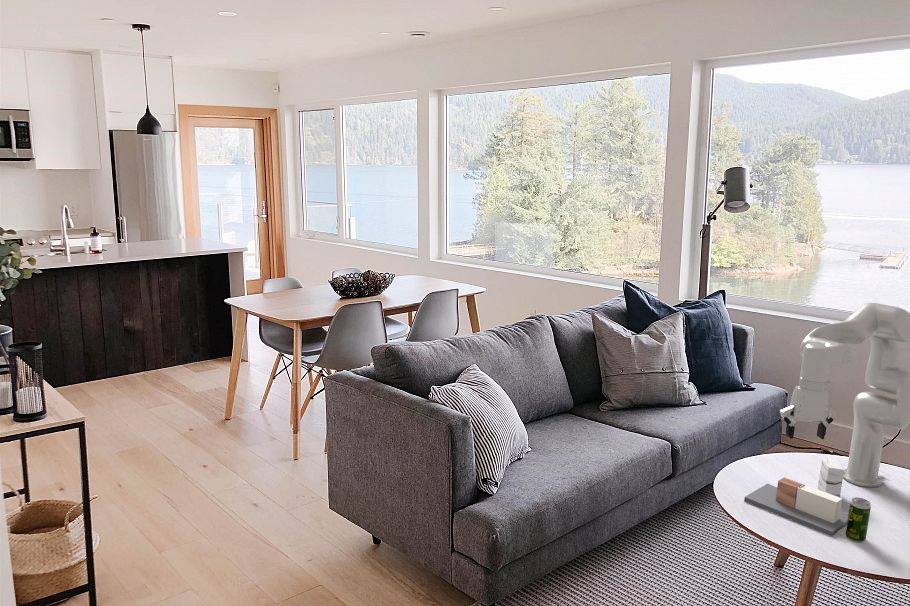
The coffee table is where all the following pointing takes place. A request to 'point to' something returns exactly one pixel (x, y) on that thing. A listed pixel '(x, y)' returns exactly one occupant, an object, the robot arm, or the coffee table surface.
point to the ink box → (831, 477)
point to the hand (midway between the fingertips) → (804, 437)
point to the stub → (787, 491)
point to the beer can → (858, 520)
